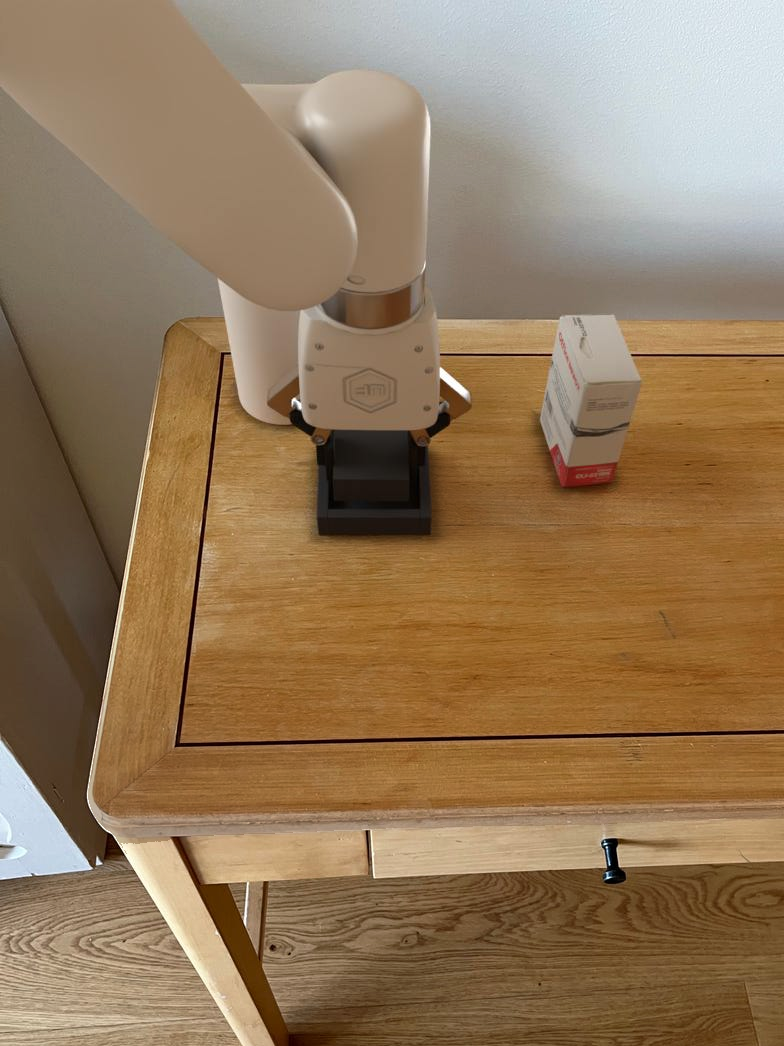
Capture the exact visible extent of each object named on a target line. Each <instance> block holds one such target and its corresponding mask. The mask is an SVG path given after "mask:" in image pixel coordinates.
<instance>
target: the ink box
mask: <svg viewBox="0 0 784 1046" xmlns="http://www.w3.org/2000/svg"><path fill="white" fill-rule="evenodd" d="M556 329H557V331H556V334H555V339H554V346H553V350H552V354H551V361H550V365H549V371H548V375H547V382H546V387H545V391H544V396H543V401H542V406H541V407H542V408H541V412H540V417H539V422H540V425H541V427H542V431H543V434H544V438H545V440H546V443H547V447H548V450H549V452H550V456H551V459H552V463H553V466H554V469H555V472H556V475H557V478H558V481H559V484H560V487H562V488H568V487H580V486H581V487H582V486H589V485H591V486H593V485H601V484H609V483H613V479H614V476H615V473H616V470H617V466H618V464H619V460H620V457H621V453H622V449H623V446H624V443H625V441H626V438H627V437H626V436H627V433H628V430H629V427H630V424H631V420H632V417H633V414H634V411H635V408H636V404H637V402H638V398H639V394H640V391H641V388H642V384H643V380H642V377H641V375H640V373H639V371H638V369H637V366H636V364H635V361H634V358H633V356H632V354H631V352H630V349H629V346H628V345H627V342H626V340H625V336H624V335H623V332H622V330H621V328H620V325H619V322H618V320H617V318H616V316H615V313H595V314H594V313H587V314H585V313H584V314H562V315H561V316H560V317H559V320H558V324H557V328H556Z"/></svg>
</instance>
